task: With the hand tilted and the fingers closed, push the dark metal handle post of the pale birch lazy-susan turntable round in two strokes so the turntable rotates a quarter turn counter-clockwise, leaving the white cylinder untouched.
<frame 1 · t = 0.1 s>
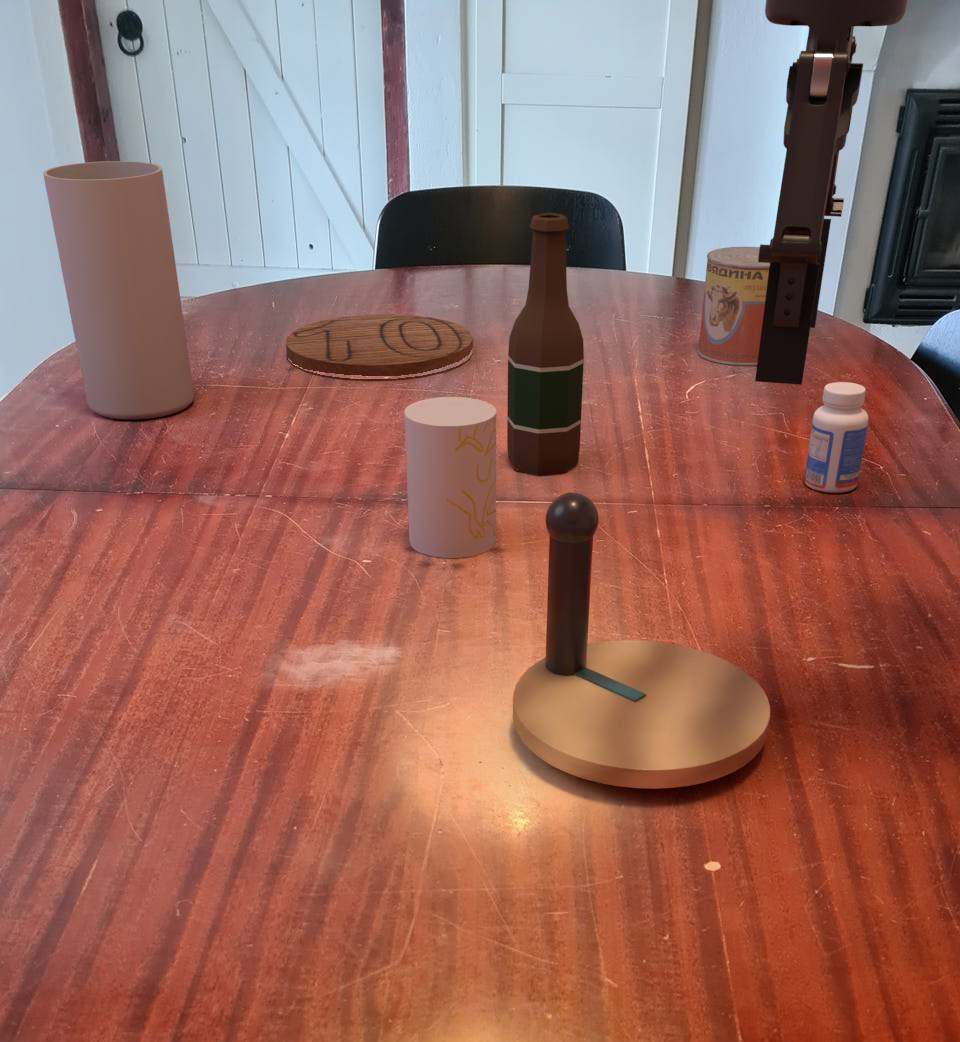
hand: (787, 352, 78), 25 cm above the table, tool pointing down, fingers open, 13 cm apart
beer bottle: (542, 465, 132), on the table
cylinder vase: (142, 406, 149), on the table
pill bottle: (829, 486, 127), on the table
canned food: (739, 355, 165), on the table
white cylinder: (452, 542, 116), on the table
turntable: (646, 625, 83), point 9 cm above the table, hinge at 0.0°
trivet: (380, 354, 166), on the table
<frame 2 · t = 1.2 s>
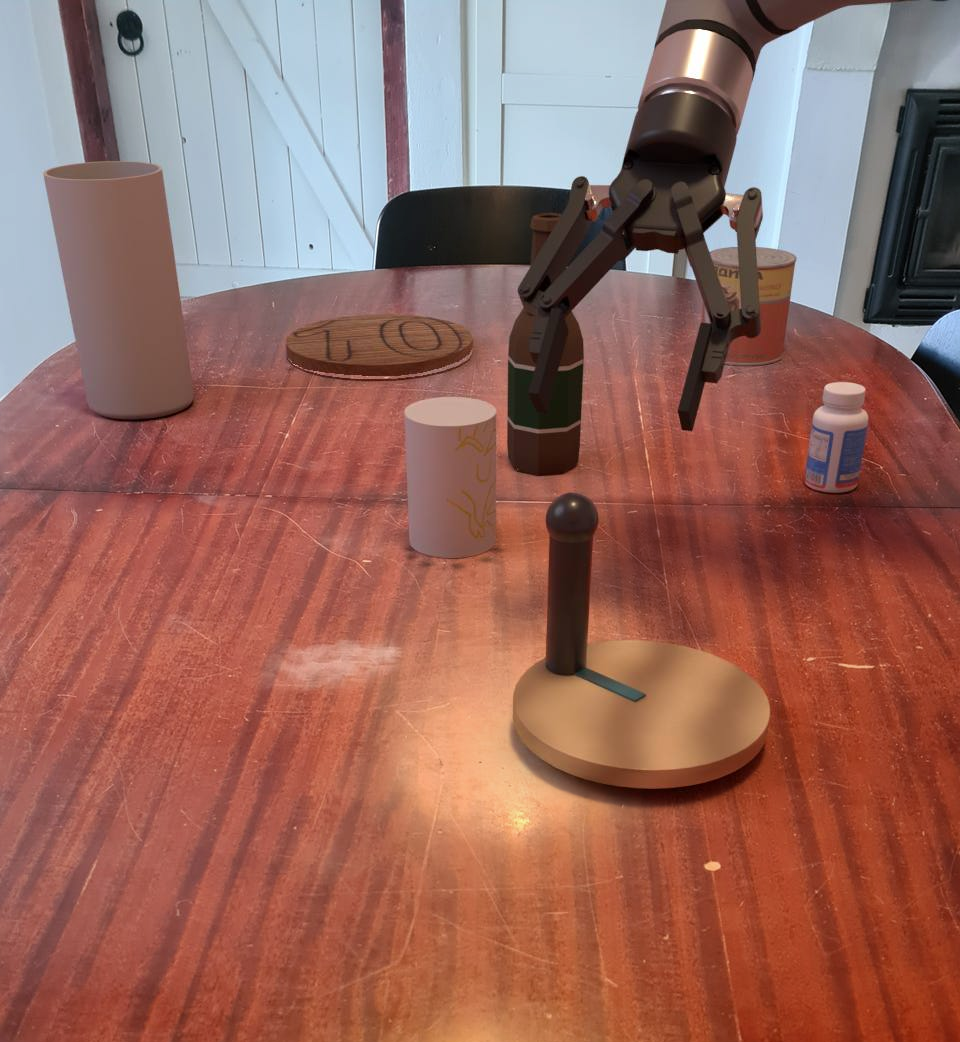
hand: (609, 412, 86), 19 cm above the table, tool tilted 45°, fingers open, 10 cm apart
nothing on the table moved.
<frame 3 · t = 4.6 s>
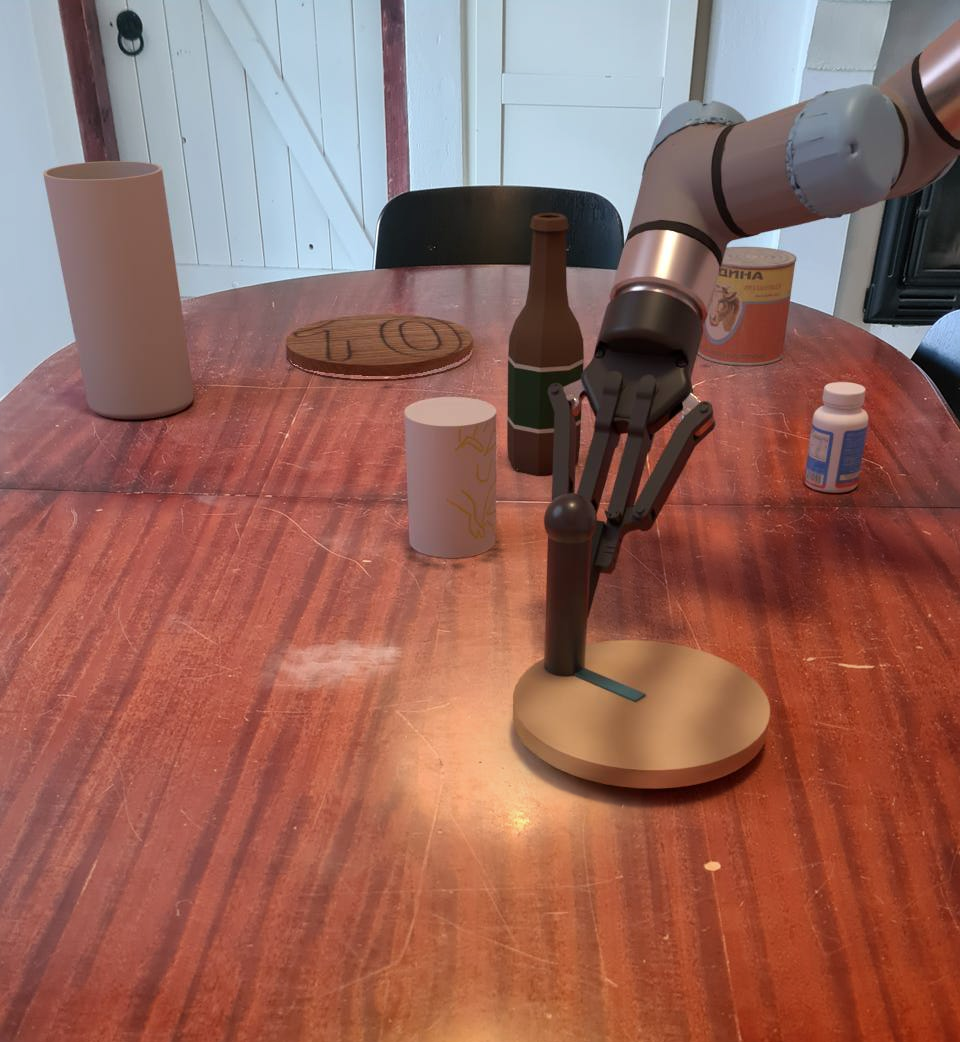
hand: (575, 610, 91), 6 cm above the table, tool tilted 45°, fingers closed
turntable: (646, 625, 83), point 9 cm above the table, hinge at 1.4°, touching gripper
everything else where it was.
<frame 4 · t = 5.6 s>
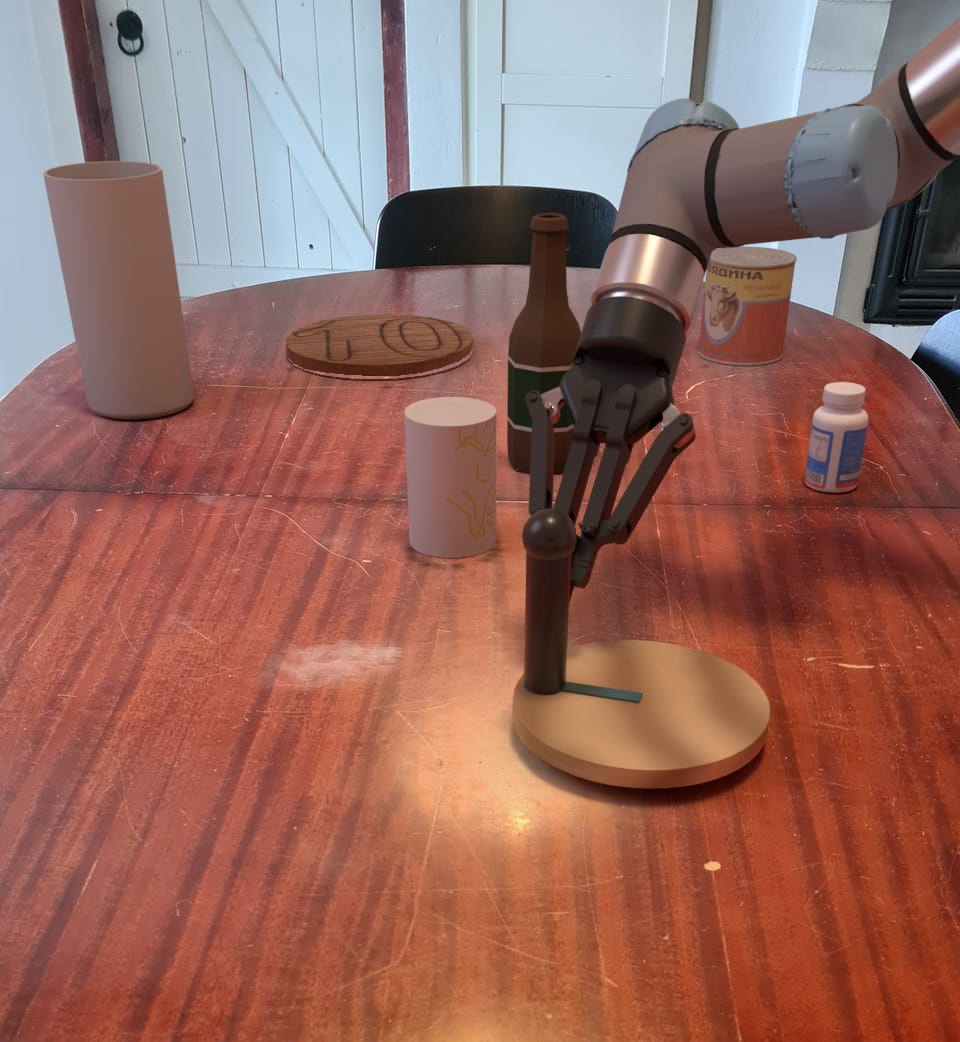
hand: (548, 625, 89), 6 cm above the table, tool tilted 45°, fingers closed
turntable: (646, 625, 83), point 9 cm above the table, hinge at 26.9°, touching gripper
everything else where it was.
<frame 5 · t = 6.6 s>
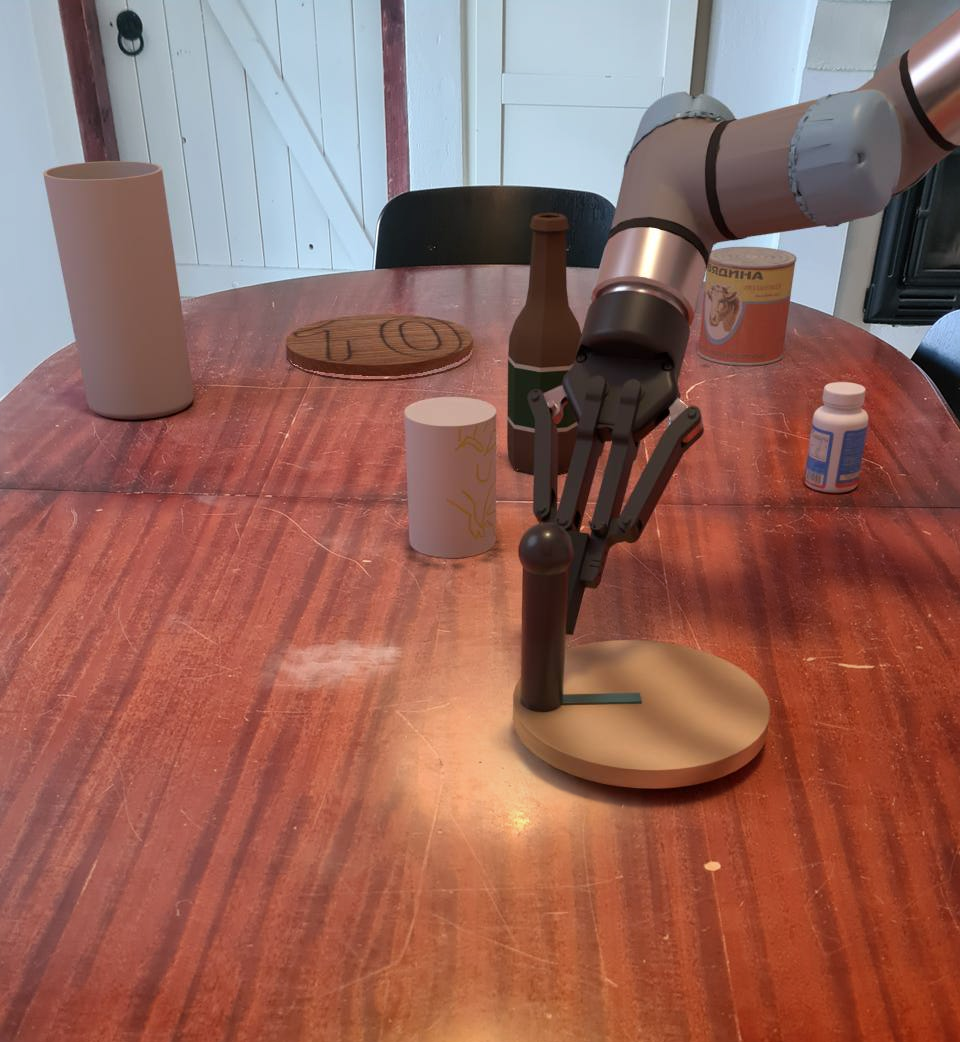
hand: (559, 626, 86), 7 cm above the table, tool tilted 45°, fingers closed
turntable: (646, 625, 83), point 9 cm above the table, hinge at 46.3°
everything else where it was.
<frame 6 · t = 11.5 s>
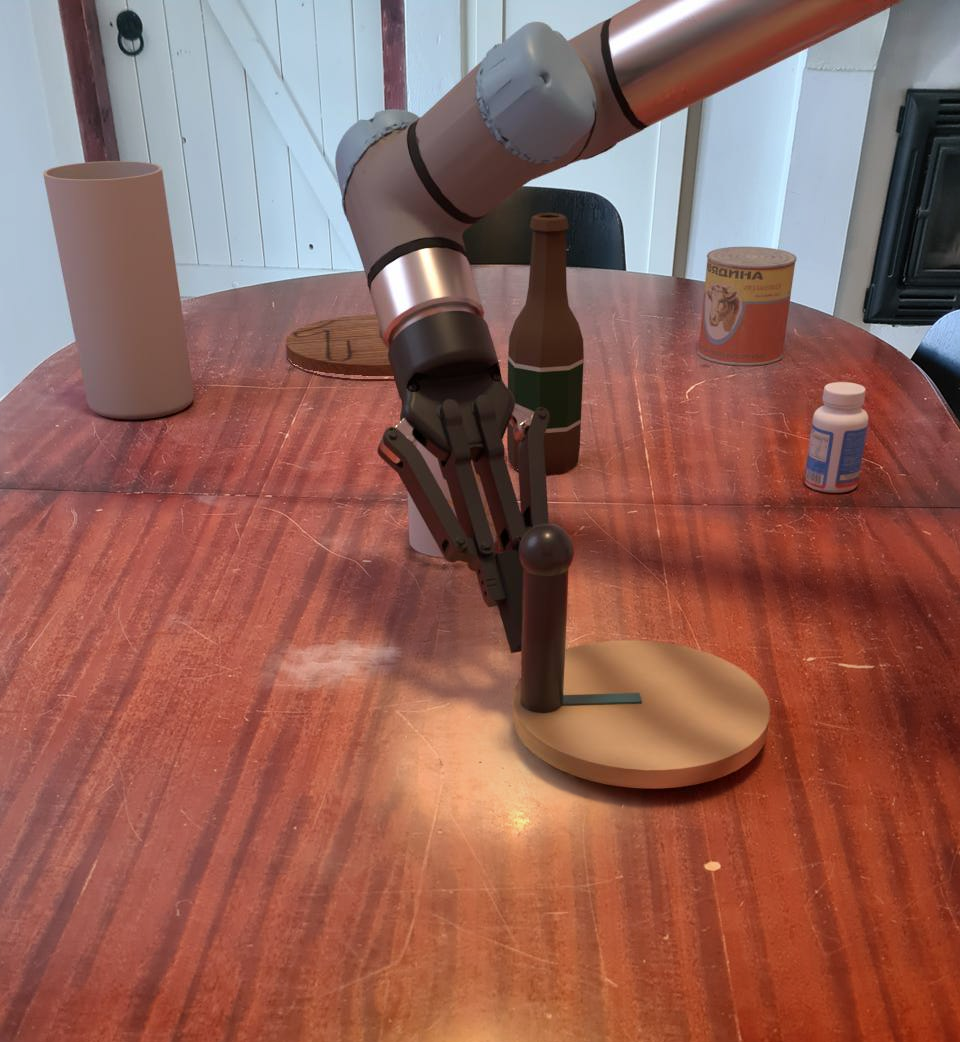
hand: (526, 645, 87), 6 cm above the table, tool tilted 45°, fingers closed
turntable: (646, 625, 83), point 9 cm above the table, hinge at 47.4°, touching gripper
everything else where it was.
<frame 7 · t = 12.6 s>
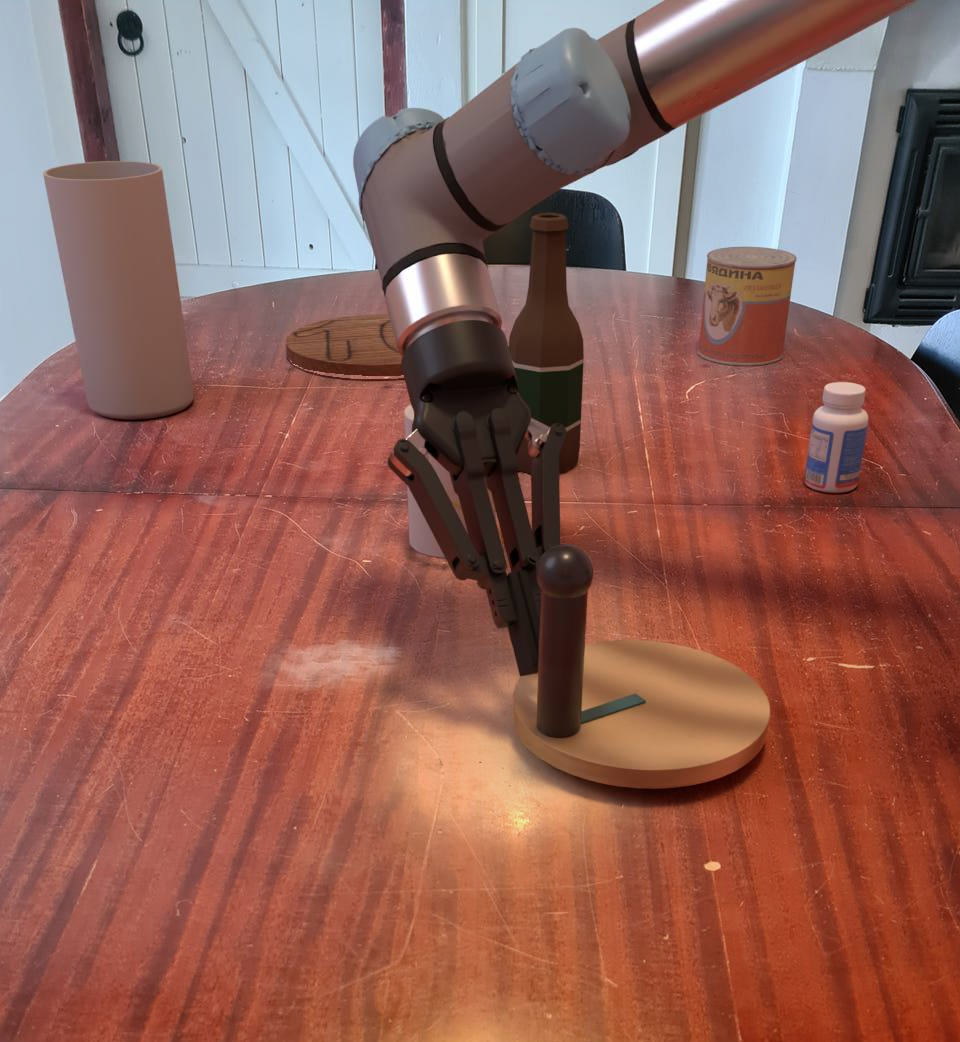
hand: (534, 669, 84), 6 cm above the table, tool tilted 45°, fingers closed
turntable: (646, 625, 83), point 9 cm above the table, hinge at 75.9°, touching gripper
everything else where it was.
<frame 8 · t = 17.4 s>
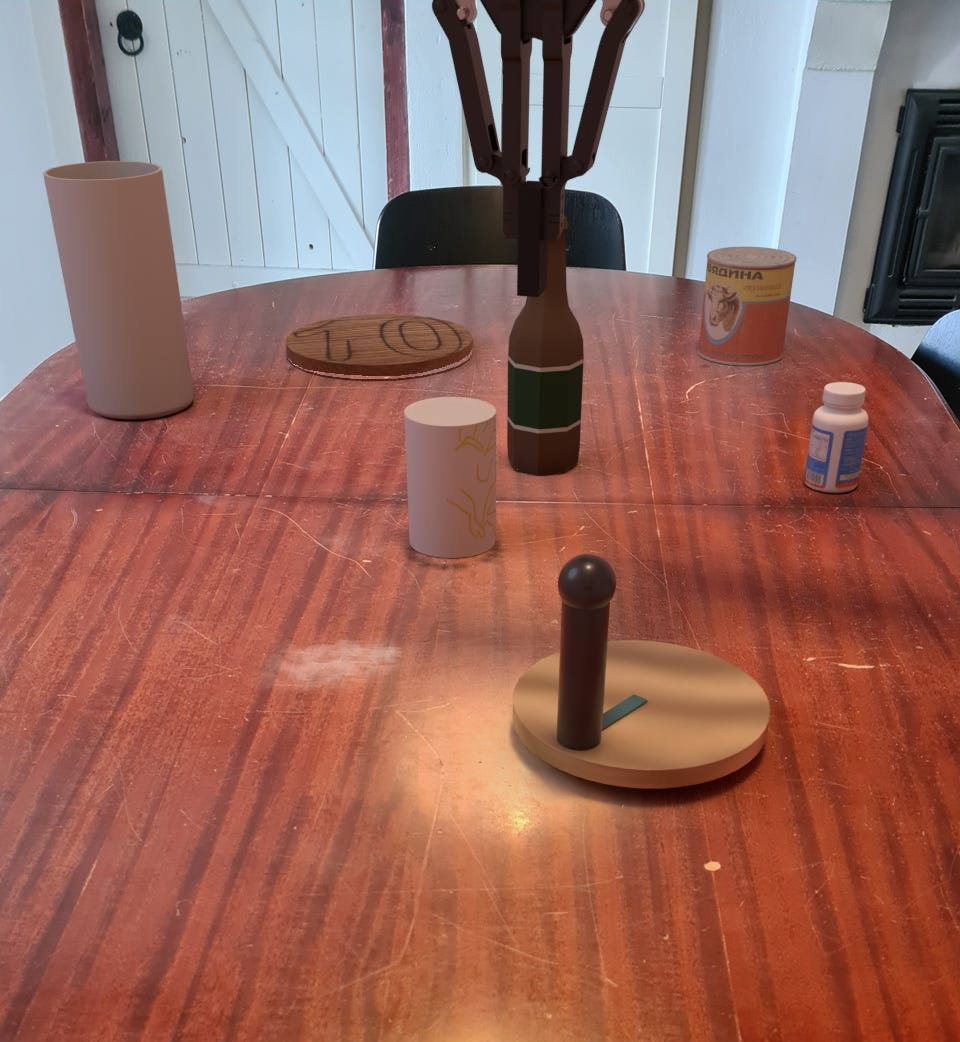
hand: (532, 291, 84), 26 cm above the table, tool pointing down, fingers closed
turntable: (646, 625, 83), point 9 cm above the table, hinge at 92.3°
everything else where it was.
at the end: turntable at +92° (first picture: +0°); white cylinder moved 0.2 cm from its start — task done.
